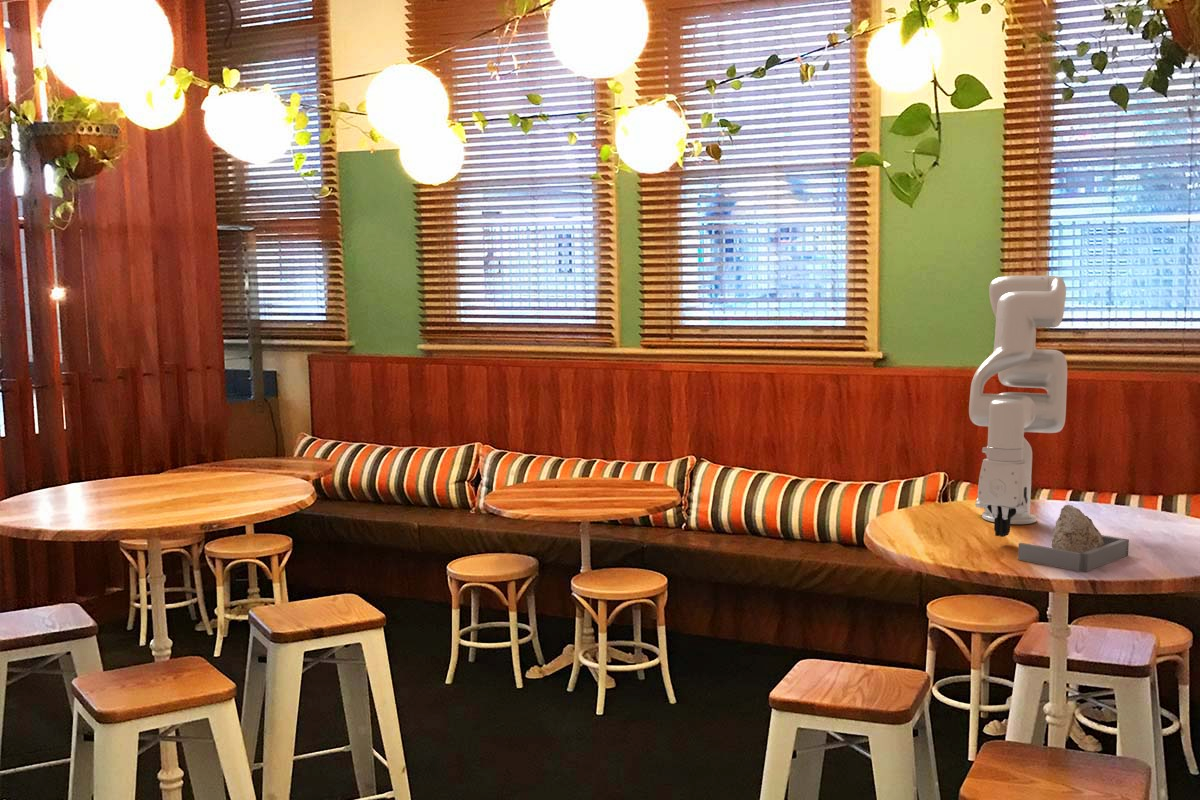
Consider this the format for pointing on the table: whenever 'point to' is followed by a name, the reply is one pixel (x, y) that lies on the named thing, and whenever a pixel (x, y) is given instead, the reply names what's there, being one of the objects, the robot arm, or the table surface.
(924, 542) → the table surface
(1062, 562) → the frame
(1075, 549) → the rock
